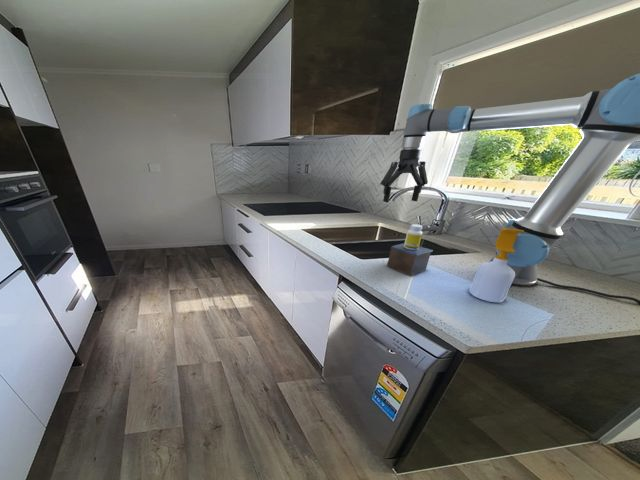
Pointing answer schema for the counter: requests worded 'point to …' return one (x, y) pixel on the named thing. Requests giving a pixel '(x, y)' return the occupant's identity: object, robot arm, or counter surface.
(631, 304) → the counter surface
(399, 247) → the box lid
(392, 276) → the counter surface
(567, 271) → the counter surface
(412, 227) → the supplement bottle
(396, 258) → the box
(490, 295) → the soap bottle
